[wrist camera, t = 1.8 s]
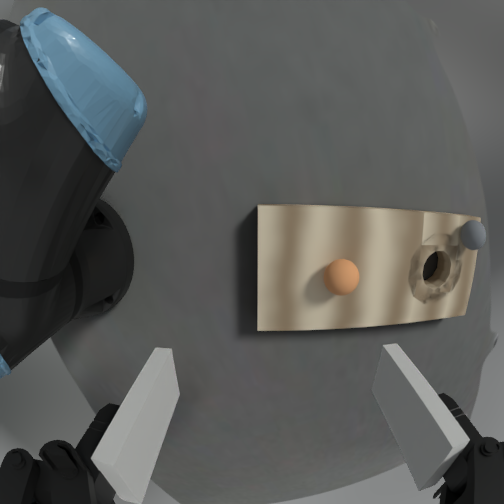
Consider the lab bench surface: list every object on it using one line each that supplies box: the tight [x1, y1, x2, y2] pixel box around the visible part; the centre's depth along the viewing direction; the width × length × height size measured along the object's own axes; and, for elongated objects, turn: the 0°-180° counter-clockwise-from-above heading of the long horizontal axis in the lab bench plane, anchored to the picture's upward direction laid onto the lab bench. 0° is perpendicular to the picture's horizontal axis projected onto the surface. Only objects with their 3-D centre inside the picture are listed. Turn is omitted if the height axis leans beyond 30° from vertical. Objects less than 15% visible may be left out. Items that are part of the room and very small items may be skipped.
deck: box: [257, 204, 481, 331], centre depth 29 cm, size 28×13×3 cm, turn 90°
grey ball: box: [460, 220, 486, 250], centre depth 24 cm, size 4×4×4 cm
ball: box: [324, 259, 359, 296], centre depth 26 cm, size 4×4×4 cm
